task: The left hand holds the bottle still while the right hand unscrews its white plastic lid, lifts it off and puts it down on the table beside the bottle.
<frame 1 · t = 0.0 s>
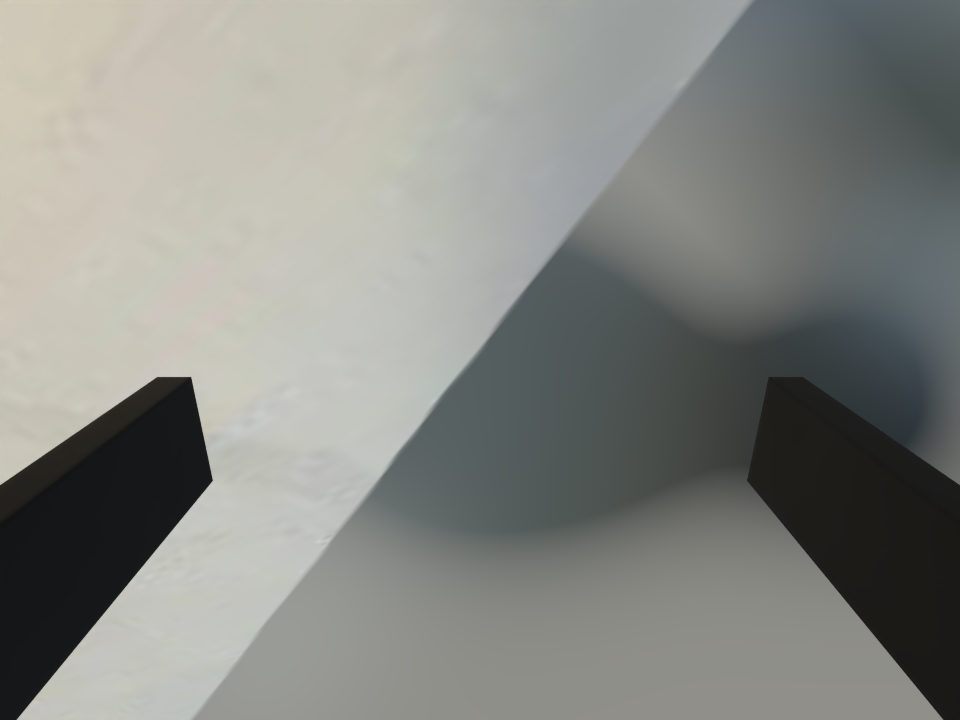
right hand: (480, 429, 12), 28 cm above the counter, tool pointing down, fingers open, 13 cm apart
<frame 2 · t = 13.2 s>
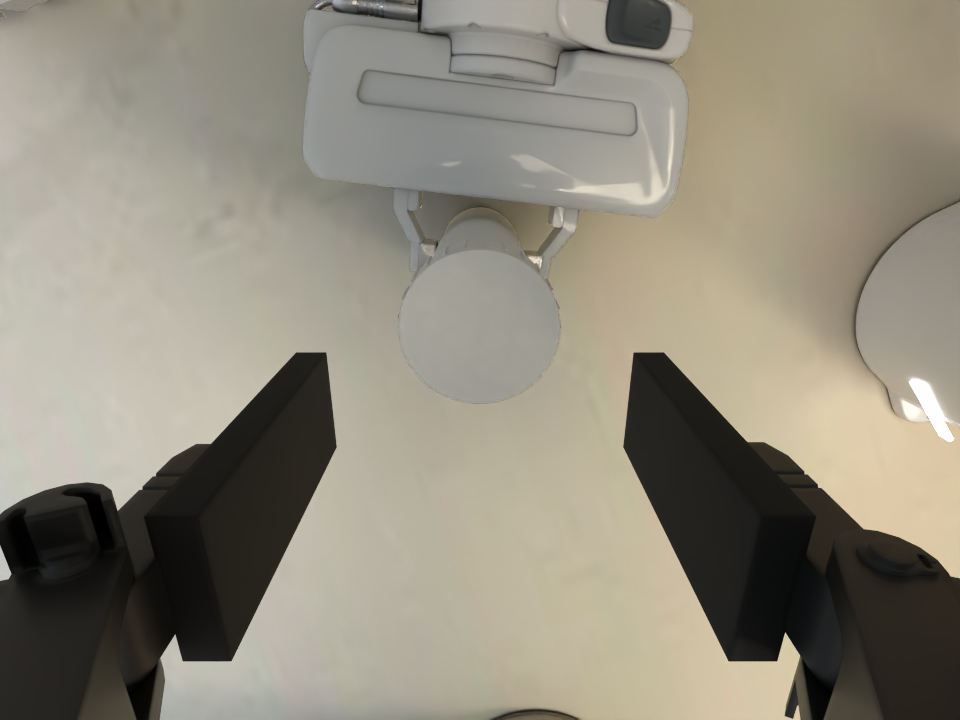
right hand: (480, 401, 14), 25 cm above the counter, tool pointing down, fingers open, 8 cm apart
left hand: (478, 277, 32), fingers closed on bottle, 5 cm apart
bottle: (479, 246, 37), on the counter, touching left hand
lid: (479, 328, 20), point 19 cm above the counter, screwed on, not yet turned
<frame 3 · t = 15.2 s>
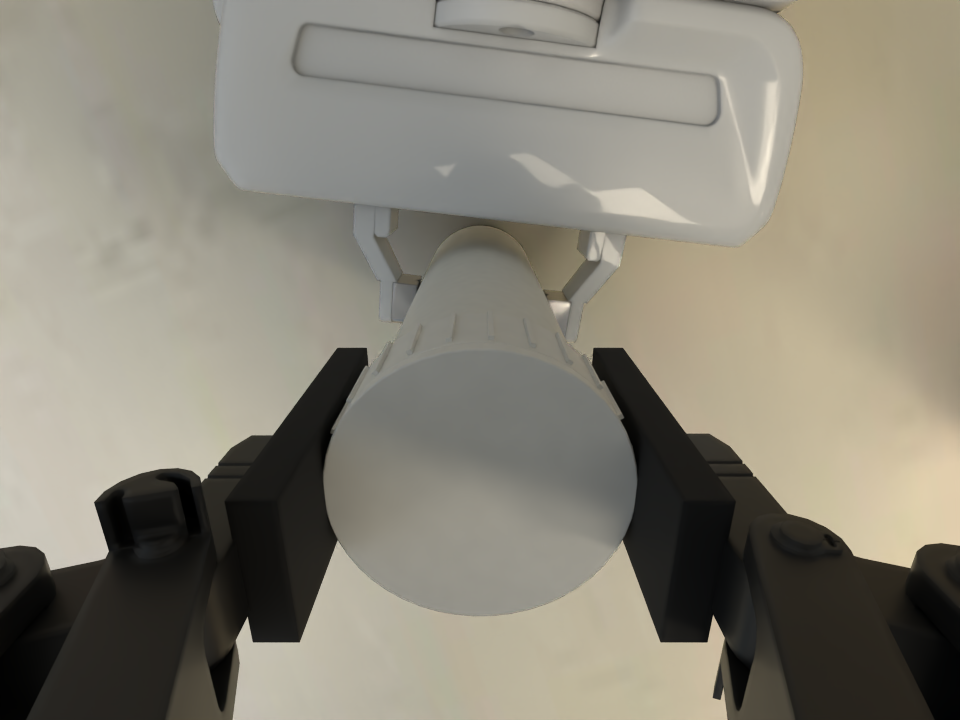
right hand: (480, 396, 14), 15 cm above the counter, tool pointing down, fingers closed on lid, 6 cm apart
left hand: (479, 328, 23), fingers closed on bottle, 5 cm apart
bottle: (480, 277, 28), on the counter, touching left hand
lid: (480, 486, 10), point 19 cm above the counter, screwed on, not yet turned, touching right hand
when the right hand's fingers open (15 cm above the counter, at t = 16.7 s): lid stays where it is, point 19 cm above the counter.
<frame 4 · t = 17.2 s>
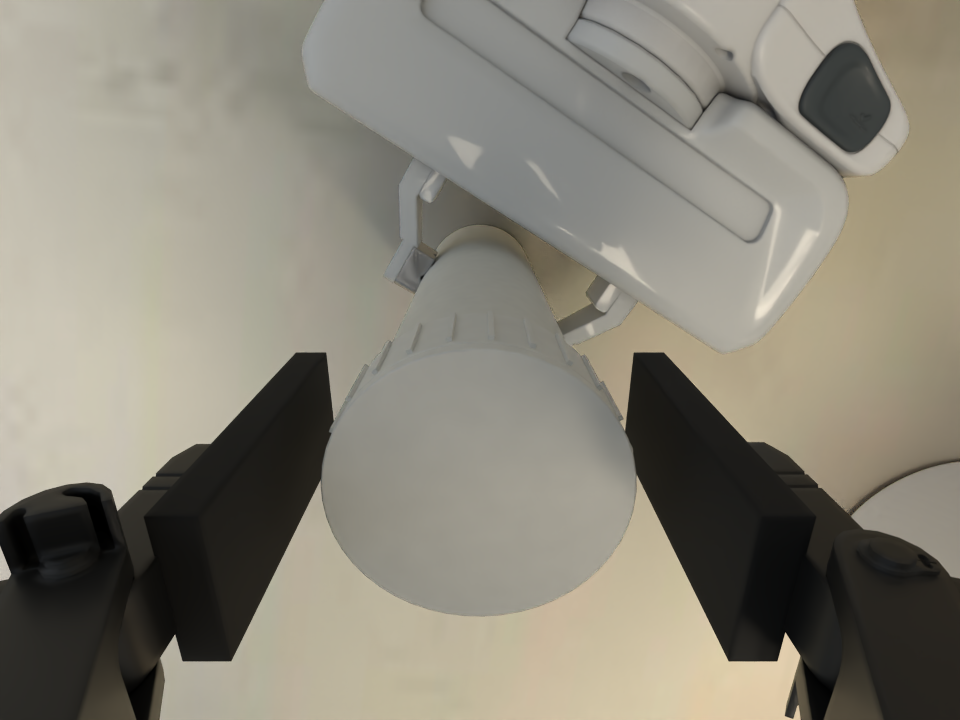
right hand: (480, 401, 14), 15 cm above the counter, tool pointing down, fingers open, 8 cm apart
left hand: (469, 324, 23), fingers closed on bottle, 5 cm apart
bottle: (479, 275, 28), on the counter, touching left hand
lid: (478, 486, 10), point 19 cm above the counter, turned 82° so far, risen 0.3 cm, still on its thread
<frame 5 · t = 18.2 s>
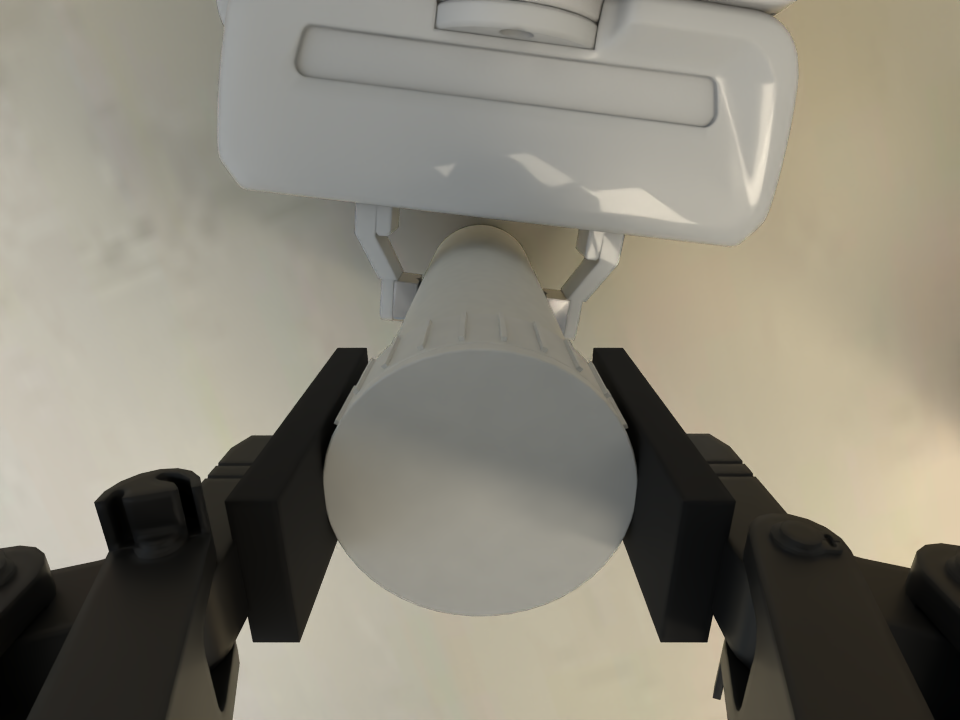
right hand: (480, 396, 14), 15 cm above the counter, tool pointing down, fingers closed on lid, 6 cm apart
left hand: (478, 326, 23), fingers closed on bottle, 5 cm apart
bottle: (480, 276, 28), on the counter, touching left hand
lid: (480, 486, 10), point 19 cm above the counter, turned 82° so far, risen 0.3 cm, still on its thread, touching right hand
when the right hand's fingers open (0 cm above the counter, at t = 24.2 s): lid drops 2 cm, point 2 cm above the counter.
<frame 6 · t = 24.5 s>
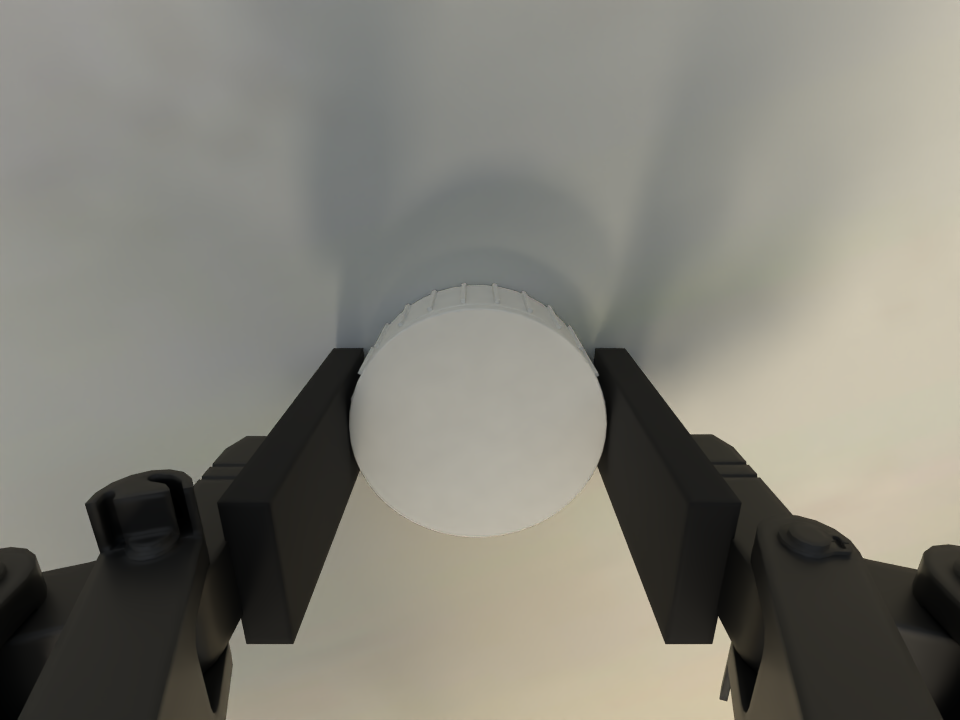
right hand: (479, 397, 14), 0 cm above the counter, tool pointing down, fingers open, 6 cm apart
lid: (478, 425, 13), point 2 cm above the counter, off its thread
when the left hand's fingers open (6 cm above the counter, at t = 25.9 s): bottle stays where it is, on the counter.
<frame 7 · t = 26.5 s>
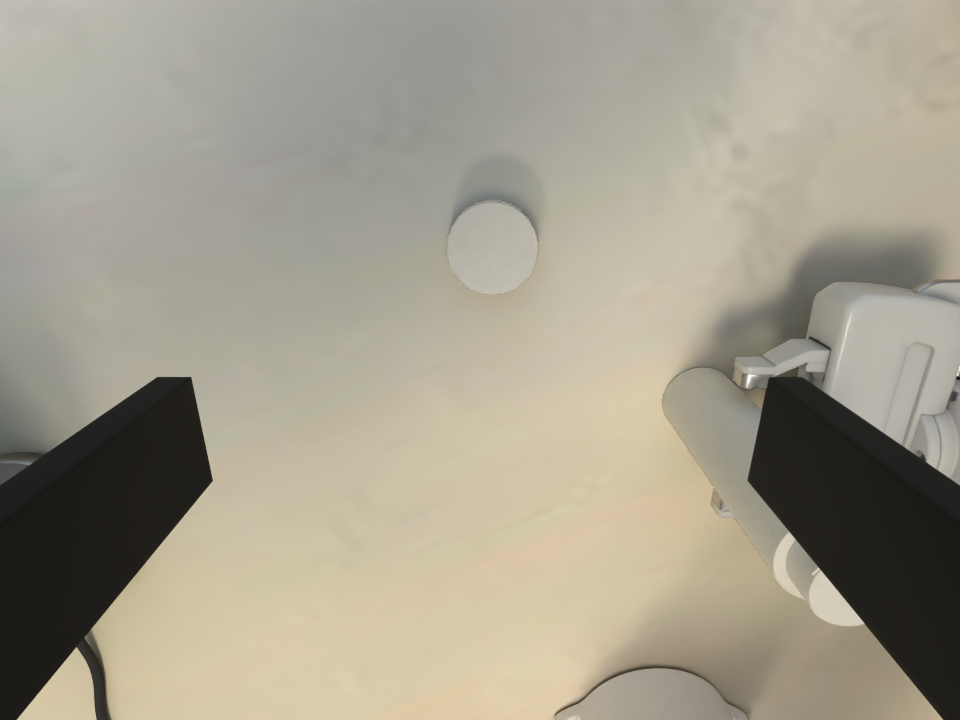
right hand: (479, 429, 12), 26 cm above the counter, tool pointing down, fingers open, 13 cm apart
left hand: (725, 439, 35), fingers open, 8 cm apart
bottle: (697, 399, 40), on the counter
lid: (492, 249, 35), point 2 cm above the counter, off its thread
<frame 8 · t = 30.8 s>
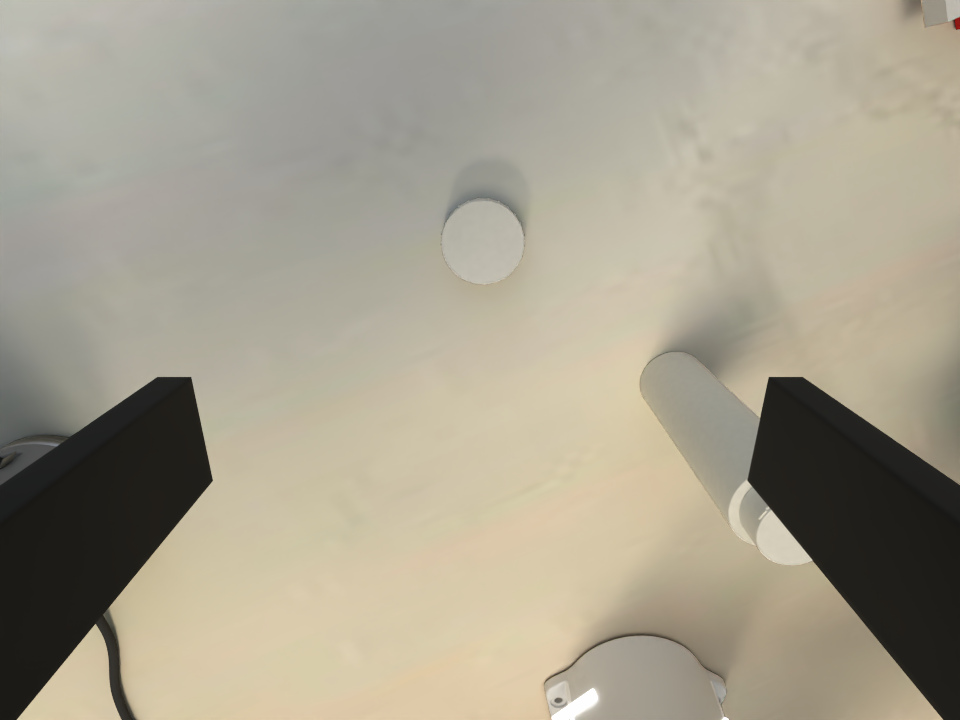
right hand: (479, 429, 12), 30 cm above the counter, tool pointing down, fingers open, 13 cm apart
bottle: (671, 381, 44), on the counter
lid: (482, 243, 38), point 2 cm above the counter, off its thread
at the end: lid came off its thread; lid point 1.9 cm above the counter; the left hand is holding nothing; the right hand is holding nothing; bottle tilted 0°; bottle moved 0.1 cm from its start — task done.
